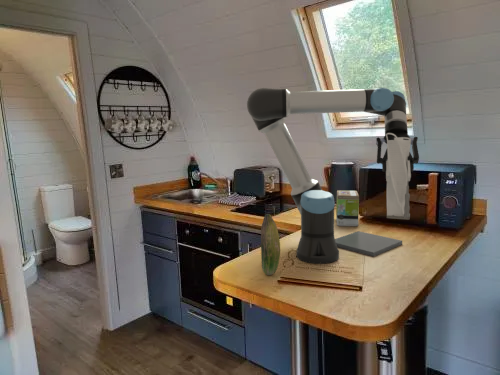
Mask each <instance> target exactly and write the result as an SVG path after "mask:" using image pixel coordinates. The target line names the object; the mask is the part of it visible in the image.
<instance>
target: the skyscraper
mask: <svg viewBox="0 0 500 375" xmlns="http://www.w3.org/2000/svg"><path fill="white" fill-rule="evenodd" d="M388 134H391V135H394V136H395V137H396V138H394V140H388V137H387V135H388ZM386 138H387V144H386V146H387V148H386V149H387V152H388V160H387V161H388V164H389V181H386V219H394V220H396V219H397V220H407V221H408V220H410V218H411V213H410V209H411V208H410V197H411V194H410V193H409V190H410V186H409V181H407V174H408V172H407V166H406V165H407V160H408V156H409V152H410V153H411V151H410V150H411V139H410V138H411V137H410V138H407V137H397V136H396V135H395V134H393V133H387V134H386ZM403 139H409V140H403Z"/></svg>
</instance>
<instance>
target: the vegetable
mask: <svg viewBox="0 0 500 375" xmlns="http://www.w3.org/2000/svg"><path fill="white" fill-rule="evenodd" d="M280 241H281V240H280V235H279V231H278V227H277V223H276V222H275V220H274V218H273V216H272V215H271V214H268V213H266V214H265V215H264V216H263V221H262V223H261V228H260V249H261V250H260V254H261V255H260V256H261V270H262V272H263V273H264V274H265V275H267V276H272V275H273V274H275V273H276V271H277V269H278V267H279V263H280V257H281V242H280Z"/></svg>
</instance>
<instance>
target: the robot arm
mask: <svg viewBox="0 0 500 375" xmlns="http://www.w3.org/2000/svg"><path fill="white" fill-rule="evenodd" d="M246 108H247V112H248V113H249V116H250V117H251V118H252V121H253V122H254V124H255V126H256V128H257V130H258V132H260V133H263V134H264V135H265V137H266V139H267V141H268V143H269V146H270V147H271V150H272V152H273V153H274V155H275V157H276V160H277V161H278V164H279V166H280V167H281V169H282V171H283V173H284V175H285V177H286V179H287V181H288V183H289V185H290V187H291V192H290V195H291V198H292V199H293V201H294V202H293V203H295V206H296V207H297V208H296V209H297V210H298V212H299V214H300V228H301V229H300V230H301V231H300V233H301V234H300V235H301V236H300V239H299V242H298V245H297V248H296V258H297V259H298V260H300V261H301V262H305V263H309V264H329V263H335V262H336V261H338V260H339V258H340V251H339V247H337V244H336V241H335V239H336V238H335V206H336V202H335V198H334V197H335V196H334V194H332V192H329V191H326V190H323V189H322V186H321V184H320V182H319V180H316V179H313V178H312V176H311V173H310V172H309V170H308V169H309V168H307V165H306V163H305V162H304V159H303V157H302V155H301V153H300V150H299V149H298V147H297V145H296V143H295V141H294V140H293V138H292V135H291V134H290V133H291V132H290V131H289V129H288V127H287V125H286V121H287V118H288V117H289V116H290V115H305V114H306V115H308V114H334V113H335V114H336V113H338V114H339V113H362V112H364V113H368V114H373V115H378V116H383V117H384V136H383V137H382V138H381V137H379V136H378V137H376V138H375V139H376V140H375V141H376V143H375V144H376V145H377V149H376V150H377V152H376V163H377V164H381V165H382V172H384V173H385V179H386V180H385V181H386V182H387V181H389V164H388V152H387V148H386V150H385V151H384V155H383V157H382V146H383V144H384V143H385V144H386V145H387V138H386V134H387V133H393V134H395V135H396V136H397V137H407V138H410V139H411V144H410V146H411V150H412V153H411V151H410V152H409V156H408V160H407V165H406V166H407V172H408V174H407V181H408V182H410V181H411V178H412V173H413V172H414V168H415V166H414V164H416V165H417V164H419V161H420V160H419V159H420V155H419V150H418V149H419V148H418V139H419V138H418V137H417V136H414V137H410V136H409V134H408V120H407V102H406V97H405V95H404V93H403V92H401V91H398V90H395V91H394V90H393V91H391V89H390V88H387V87H377V88H365V89H364V88H363V89H362V88H358V89H334V90H333V89H331V90H328V89H327V90H309V91H308V90H307V91H306V90H305V91H304V90H303V91H289V90H288V89H287V88H269V87H260V88H257V89H255V90H254V91H252V92H251V93H250V94H249V96H248V98H247V101H246ZM387 137H388V140H394V138H396V137H395V136H394V135H391V134H388V135H387ZM403 140H409V139H403ZM411 172H412V173H411Z"/></svg>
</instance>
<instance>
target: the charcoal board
mask: <svg viewBox="0 0 500 375" xmlns="http://www.w3.org/2000/svg"><path fill="white" fill-rule="evenodd" d="M335 241H336V244H337V248H338V249H339V248H341V249H343V250H346V251H347V250H348V251H351V252H355V253H359V254H361V255H367V256H370V257H376V256H378V255H381V254H383V253H386V252H388V251H390V250H392V249H394V248H397V247H399V246H402V245H403V240H400V239H398V238H397V239H395V238H391V237H387V236H383V235H378V234H374V233H369V232H364V231H360V230H358V231H355V232H352V233H349V234H346V235H343V236H340V237H336V238H335Z"/></svg>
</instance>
